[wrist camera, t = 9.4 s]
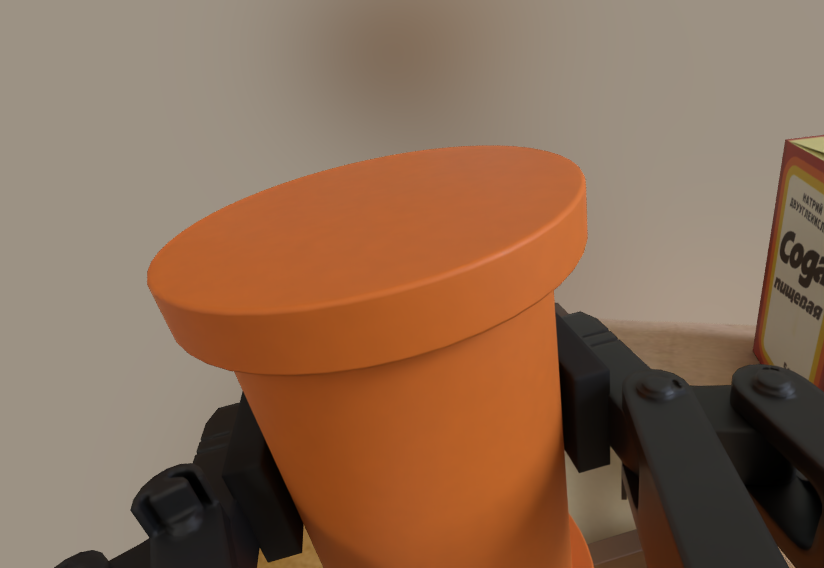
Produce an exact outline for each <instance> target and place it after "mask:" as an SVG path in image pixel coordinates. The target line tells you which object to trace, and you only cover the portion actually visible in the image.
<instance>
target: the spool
mask: <svg viewBox="0 0 824 568" xmlns="http://www.w3.org/2000/svg"><path fill="white" fill-rule="evenodd" d="M586 203H587V202H586V181H585V177H584V175H583V173H582V171H581V170H580V168H579V167H578V166H577V165H576V164H575V163H573V162H572V161H571V160H569V159H567V158H565V157H563V156H561V155H558V154H555V153H551V152H548V151H543V150H538V149H533V148H525V147H516V146H461V147H449V148H439V149H429V150H422V151H415V152H408V153H402V154H396V155H390V156H385V157H381V158H375V159H370V160H365V161H361V162H356V163H352V164H348V165H344V166H340V167H336V168H332V169H329V170H325V171H321V172H318V173H314V174H311V175H308V176H304V177H301V178H298V179H295V180H292V181H289V182H286V183H283V184H280V185H277V186H275V187H272V188H269V189H266V190H264V191H261V192H259V193H256V194H254V195H251V196H249V197H246V198H244V199H242V200H239V201H237V202H235V203H233V204H230V205H228V206H226V207H224V208H222V209H220V210H218V211H216V212H214V213H212V214H210V215H209V216H207V217H205V218H203V219H202V220H200V221H198V222H196V223H195V224H193V225H192V226H190V227H189V228H187V229H185V230H184V231H182V232H181V233H180V234H179V235H177V236H176V237H175V238H173V239H172V240H171V241H170V242H168V243H167V244H166V245H165V246H164V247H163V248H162V249H161V250H160V251H159V252H158V253H157V255H156V256H155V257H154V259H153V260H152V262H151V264H150V267H149V269H148V271H147V285H148V287H149V289H150V291H151V293H152V295H153V297H154V299H155V301H156V303H157V305H158V307H159V309H160V311H161V313H162V314H163V316H164V319H165V320H166V323H167V325H168V327H169V329H170V331H171V332H172V334H173V336H174V338H175V340H176V342H177V343H178V344H179V345H180V346H181V347H182V348H183V349H184V350H185V351H186V352H187V353H189V354H190V355H192V356H194V357H195V358H197V359H199V360H201V361H203V362H205V363H207V364H209V365H213V366H216V367H219V368H222V369H226V370H229V371H234V372H235V374H236V377H237V379H238V381H239V383H240V385H241V388H242V390H243V392H244V394H245V396H246V399H247V401H248V403H249V405H250V407H251V410H252V412H253V414H254V416H255V418H256V421H257V423H258V425H259V427H260V429H261V432H262V434H263V436H264V438H265V440H266V443H267V445H268V447H269V449H270V451H271V453H272V456H273V458H274V460H275V462H276V464H277V467H278V469H279V471H280V473H281V475H282V478H283V480H284V482H285V484H286V486H287V489H288V491H289V493H290V495H291V497H292V500H293V502H294V504H295V506H296V508H297V511H298V513H299V515H300V517H301V519H302V521H303V524H304V526H305V528H306V530H307V532H308V535H309V537H310V539H311V541H312V543H313V546H314V548H315V550H316V552H317V554H318V557H319V559H320V561H321V563H322V565H323V568H594V564H593V561H592V558H591V555H590V551H589V548H588V546H587V544H586V541H585V539H584V537H583V535H582V533H581V531H580V529H579V528H578V526H577V524H576V523H575V521H574V520H573V518H572V516H571V515H570V514H569V512H568V497H567V482H566V467H565V452H564V437H563V422H562V407H561V392H560V377H559V362H558V347H557V332H556V317H555V302H554V289H556V288H557V287H558V286H559V285H560V284H561V283H562V282H563V281H564V280H565V279H566V278H567V276H568V275H569V274H570V273H571V272H572V271H573V270H574V269H575V267H576V265H577V263H578V262H579V260H580V258H581V257H582V255H583V253H584V250H585V246H586V242H587V238H588V237H587V204H586Z"/></svg>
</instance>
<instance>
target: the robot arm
mask: <svg viewBox="0 0 824 568" xmlns="http://www.w3.org/2000/svg"><path fill="white" fill-rule="evenodd" d="M555 317H556V332H557V347H558V362H559V377H560V392H561V407H562V422H563V437H564V450H565V451H566V453H567V455H568V456H569V458H570V459H571V461H572V463H573V464H574V466H575V468H576V469H577V471H578V472H579V473H582V472H585V471H589V470H592V469H596V468H599V467H603V466H606V465H610V446H611V448H612V449H613V450H614V452H615V453H616V454H617V456H618V457H619V458H620V460H621V461H622V468H621V500H627V497H628V501H629V504H630V508H631V511H632V515H633V518H634V522H635V526H636V529H637V533H638V536H639V540H640V543H641V547H642V550H643V554H644V558H645V561H646V565H647V568H789V567H788V565H787V563H786V561H785V559H784V557H783V555H782V554H781V552H780V550H779V548H780V549H781V551H782V552H783V553H784V554H785V555H786V557H787V558H788V559H789V560H790V561H791V563H792V564H793V565H794V566H795V567H796V568H824V391H822V390H821V389H819V388H818V387H817V386H815V385H814V384H813V383H811V382H810V381H809V380H807V379H806V378H804V377H803V376H801V375H799V374H797V373H795V372H794V371H791V370H788V369H785V368H782V367H779V366H773V365H765V364H756V365H747V366H745V367H742V368H739V369H738V370H737V371H736V372H735V373H734V374H733V377H732V384H731V385H720V386H689V384H688V383H687V382H686V381H685V380H684V379H682V378H681V377H679V376H677V375H675V374H673V373H670V372H666V371H663V370H655V369H650V368H649V367H648V366H647V365H646V364H645V363H644V362H643V361H642V360H641V359H640V358H639V357H638V356H636V355H635V354H634V353H633V352H632V351H631V350H630V349H629V348H628V347H627V346H626V345H625V344H624V343H623V342H621V341H620V340H618V339H617V337H616V336H615V335H614V334H613V333H612V332H611V331H608V328H607V327H605V326H604V325H603V324H602V323H601V322H600V321H599V320H598V319H597V318H594V317H592V316H590V315H587V314H585V313H583V312H577V313H572V314H569V315H565V316H561V317H560V316H559V315H558V314H557V313H556V311H555ZM131 512H132V513H133V515H134V516H135V517H136V519H137V520H138V522H139V523H140V525H141V526H142V527H143V529H144V530H145V532H146V533H147V535H148V536H149V539H147V540H146V541H144V542H143V543H141V544H139V545H137V546H136V547H134V548H132V549H130V550H128V551H126V552H124V553H123V554H121V555H119V556H117V557H115V558H113V559H112V560H110V561H108V560H107V558H106V557H105V556H104V555H103V553H101V552H98V551H94V550H91V551H86V552H80V553H78V554H76V555H74V556H72V557H70V558H68V559H65V560H64V561H63V562H61V563H60V564H59V565H57V566H56V567H54V568H257V562H258V555H259V548H260V549H261V551H262V552H263V554H264V556H265V558H266V560H267V562H271V561H275V560H278V559H282V558H285V557H289V556H292V555H296V554H299V553H302V544H303V521H302V519H301V517H300V515H299V513H298V511H297V508H296V506H295V504H294V502H293V500H292V497H291V495H290V493H289V491H288V489H287V486H286V484H285V482H284V480H283V478H282V475H281V473H280V471H279V469H278V467H277V464H276V462H275V460H274V458H273V456H272V453H271V451H270V449H269V447H268V445H267V443H266V440H265V438H264V436H263V434H262V432H261V429H260V427H259V425H258V423H257V421H256V418H255V416H254V414H253V412H252V410H251V407H250V405H249V403H248V401H247V399H246V396H245V394H244V392H242V396H241V400H240V403H236V404H232V405H228V406H225V407H221V408H218V409H217V410H216V412H215V413H214V414H213V415H212V417H211V418H210V419H209V420H208V422H207V423H206V425H205V428H204V431H203V434H202V437H201V442H200V443H199V446H198V449H197V455H195V458H194V461H193V464H192V463H190V464H179V465H176V466H174V467H171V468H168V469H166V470H164V471H162V472H161V473H159V474H158V475H156V476H154V477H153V478H152V479H151V480H150V481H148V482H147V483H146V484H145V485H144V486H143V487H142V488H141V489H140V491H139V492H138V494H137V495H136V497H135V498H134V500H133V503H132V506H131ZM778 547H779V548H778Z"/></svg>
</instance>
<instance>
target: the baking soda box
mask: <svg viewBox="0 0 824 568" xmlns="http://www.w3.org/2000/svg"><path fill="white" fill-rule="evenodd" d="M753 352H754V354H755V355H756V357H757V359H758V360H759V362H760V364H765V365H773V366H779V367H782V368H785V369H788V370H791V371H794V372H795V373H797V374H799V375H801V376H803V377H804V378H806V379H807V380H809V381H810V382H811V383H813V384H814V385H815V386H817V387H818V388H819V389H821V390H822V391H824V135H820V136H812V137H804V138H795V139H788V140H785V146H784V153H783V158H782V165H781V171H780V178H779V185H778V191H777V197H776V204H775V210H774V217H773V224H772V229H771V237H770V243H769V249H768V256H767V262H766V268H765V275H764V281H763V288H762V294H761V300H760V307H759V314H758V320H757V326H756V333H755V339H754V346H753Z"/></svg>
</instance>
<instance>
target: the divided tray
mask: <svg viewBox="0 0 824 568" xmlns="http://www.w3.org/2000/svg"><path fill="white" fill-rule="evenodd" d="M555 311H556V313H557V314H558V315H559V316H560V317H561V316H565V315H569V314H568V313H567V312H566V311H565V310H564V309H563V308H562V307H561V306H560V305H559V304H558V303H555ZM564 452H565V467H566V482H567V497H568V512H569V514H570V515H571V516H572V518H573V520H574V521H575V523H576V524H577V526H578V528H579V529H580V531H581V533H582V535H583V537H584V539H585V541H586V544H587V546H588V548H589V551H590V555H591V558H592V561H593V564H594V568H647V565H646V561H645V558H644V554H643V550H642V547H641V543H640V540H639V536H638V533H637V529H636V526H635V522H634V518H633V515H632V511H631V508H630V504H629V501H628V497H627V500H621V468H622V461H621V460H620V458H619V457H618V456H617V454H616V453H615V452H614V450H613V449H612V448H611V446H610V465H606V466H603V467H599V468H596V469H592V470H589V471H585V472H582V473H579V472H578V471H577V469H576V468H575V466H574V464H573V463H572V461H571V459H570V458H569V456H568V455H567V453H566V451H565V450H564Z"/></svg>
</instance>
